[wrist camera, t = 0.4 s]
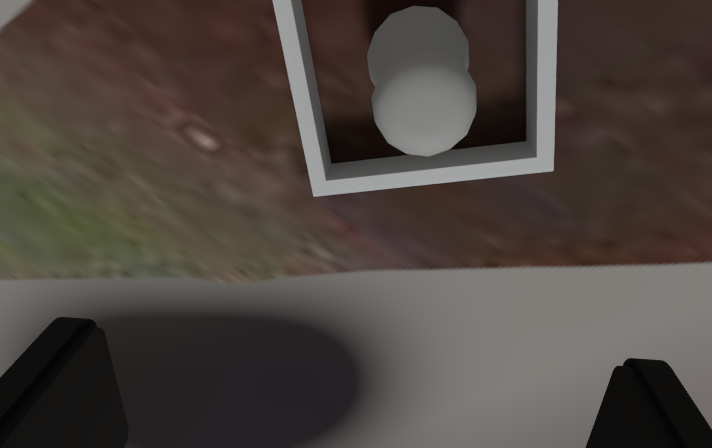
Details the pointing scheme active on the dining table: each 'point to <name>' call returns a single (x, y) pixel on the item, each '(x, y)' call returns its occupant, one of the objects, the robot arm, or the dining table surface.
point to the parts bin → (441, 166)
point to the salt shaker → (421, 81)
